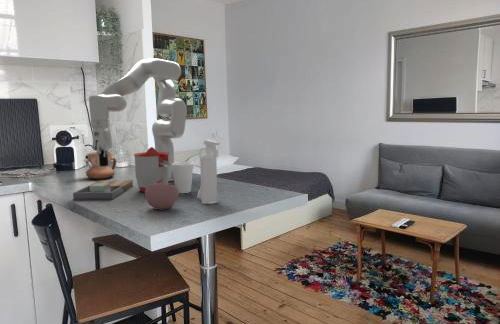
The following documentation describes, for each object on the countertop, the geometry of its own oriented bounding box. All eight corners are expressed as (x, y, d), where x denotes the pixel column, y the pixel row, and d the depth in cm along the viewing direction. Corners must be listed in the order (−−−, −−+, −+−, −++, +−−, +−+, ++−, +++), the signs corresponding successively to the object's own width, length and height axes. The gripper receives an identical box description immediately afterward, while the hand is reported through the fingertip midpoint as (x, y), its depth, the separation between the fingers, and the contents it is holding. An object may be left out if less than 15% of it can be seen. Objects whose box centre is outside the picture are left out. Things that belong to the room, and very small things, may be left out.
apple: (180, 204, 146) (179, 175, 144) (175, 213, 134) (174, 181, 133) (149, 205, 146) (148, 176, 144) (142, 213, 134) (140, 182, 132)
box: (123, 192, 168) (122, 186, 168) (112, 199, 155) (111, 192, 154) (87, 192, 168) (87, 186, 168) (73, 200, 155) (72, 193, 154)
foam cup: (173, 195, 162) (172, 165, 160) (171, 191, 171) (170, 162, 169) (195, 194, 164) (194, 164, 163) (192, 189, 173) (192, 161, 171)
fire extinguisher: (205, 197, 157) (203, 137, 152) (224, 203, 148) (223, 140, 144) (191, 200, 152) (190, 139, 148) (211, 207, 144) (210, 142, 139)
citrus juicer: (156, 195, 161) (154, 149, 159) (128, 191, 170) (125, 147, 168) (180, 189, 175) (179, 146, 172) (153, 185, 184) (151, 144, 181)
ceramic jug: (91, 182, 194) (89, 154, 192) (79, 178, 203) (78, 152, 202) (123, 178, 207) (122, 152, 205) (110, 174, 216) (110, 150, 215)
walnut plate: (133, 186, 182) (132, 180, 182) (123, 192, 168) (123, 185, 168) (100, 186, 182) (99, 180, 182) (87, 192, 168) (87, 186, 168)
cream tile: (110, 191, 167) (110, 187, 166) (105, 194, 161) (104, 190, 160) (97, 191, 167) (97, 187, 167) (91, 194, 161) (91, 190, 161)
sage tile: (109, 187, 165) (109, 183, 165) (103, 190, 159) (103, 186, 159) (95, 187, 165) (95, 183, 165) (89, 190, 159) (89, 186, 159)
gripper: (102, 125, 156) (106, 168, 159) (115, 122, 170) (118, 162, 173) (84, 125, 156) (88, 169, 159) (98, 123, 170) (102, 163, 173)
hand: (104, 165), depth 166 cm, fingers closed
